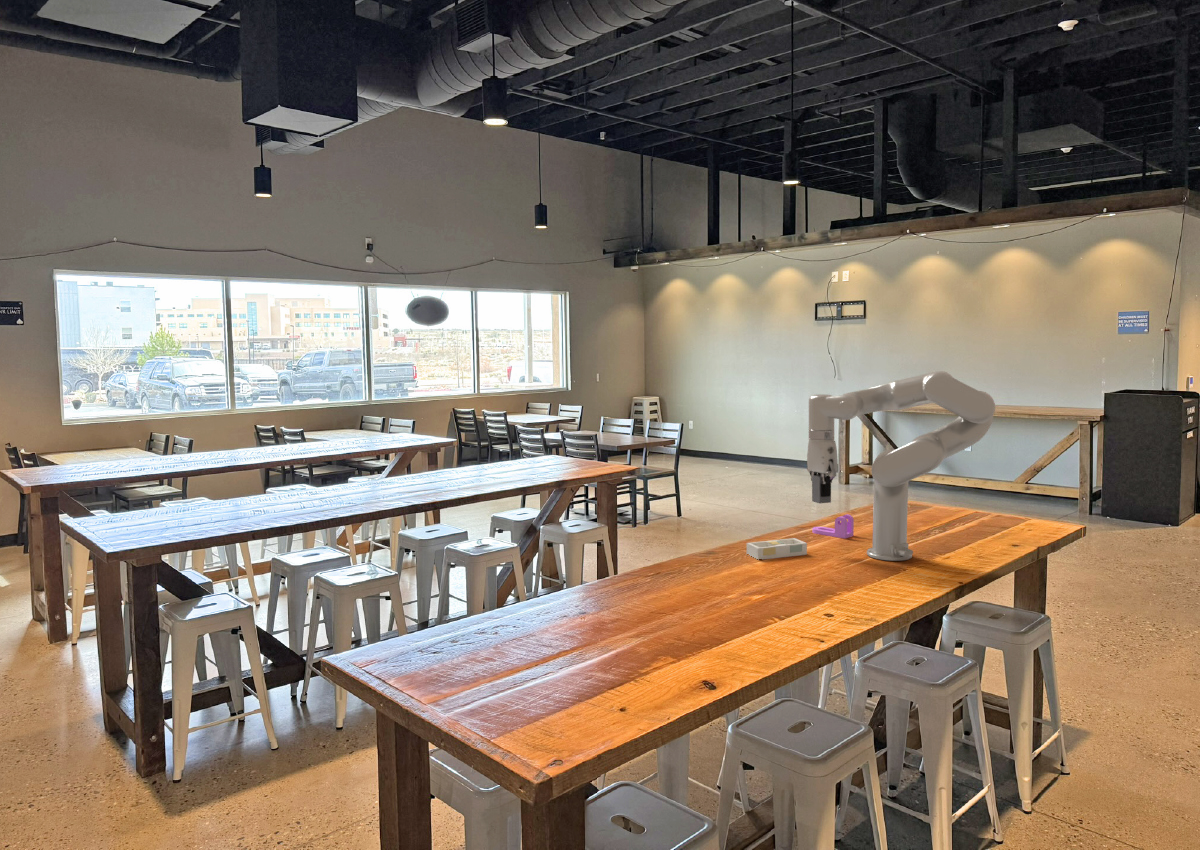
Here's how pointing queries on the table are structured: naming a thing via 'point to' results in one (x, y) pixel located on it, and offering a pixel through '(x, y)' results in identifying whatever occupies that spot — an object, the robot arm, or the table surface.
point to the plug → (818, 490)
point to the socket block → (777, 548)
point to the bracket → (838, 528)
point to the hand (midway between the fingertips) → (821, 494)
